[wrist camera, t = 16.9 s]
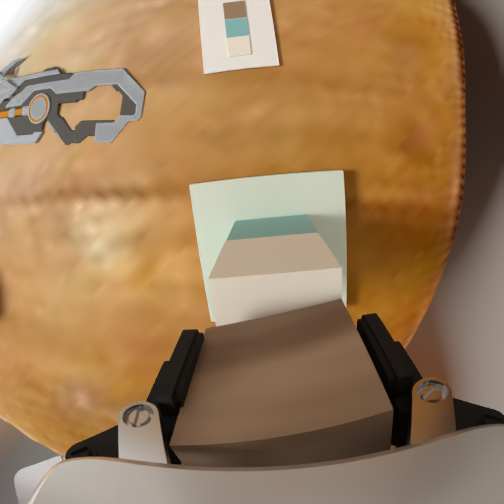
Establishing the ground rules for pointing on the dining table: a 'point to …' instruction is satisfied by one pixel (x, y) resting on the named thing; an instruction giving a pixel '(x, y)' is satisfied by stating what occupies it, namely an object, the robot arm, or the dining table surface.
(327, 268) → the cream brick
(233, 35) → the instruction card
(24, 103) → the gun
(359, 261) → the dining table surface
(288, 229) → the teal brick
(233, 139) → the dining table surface
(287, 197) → the baseplate
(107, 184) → the dining table surface
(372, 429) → the walnut brick
